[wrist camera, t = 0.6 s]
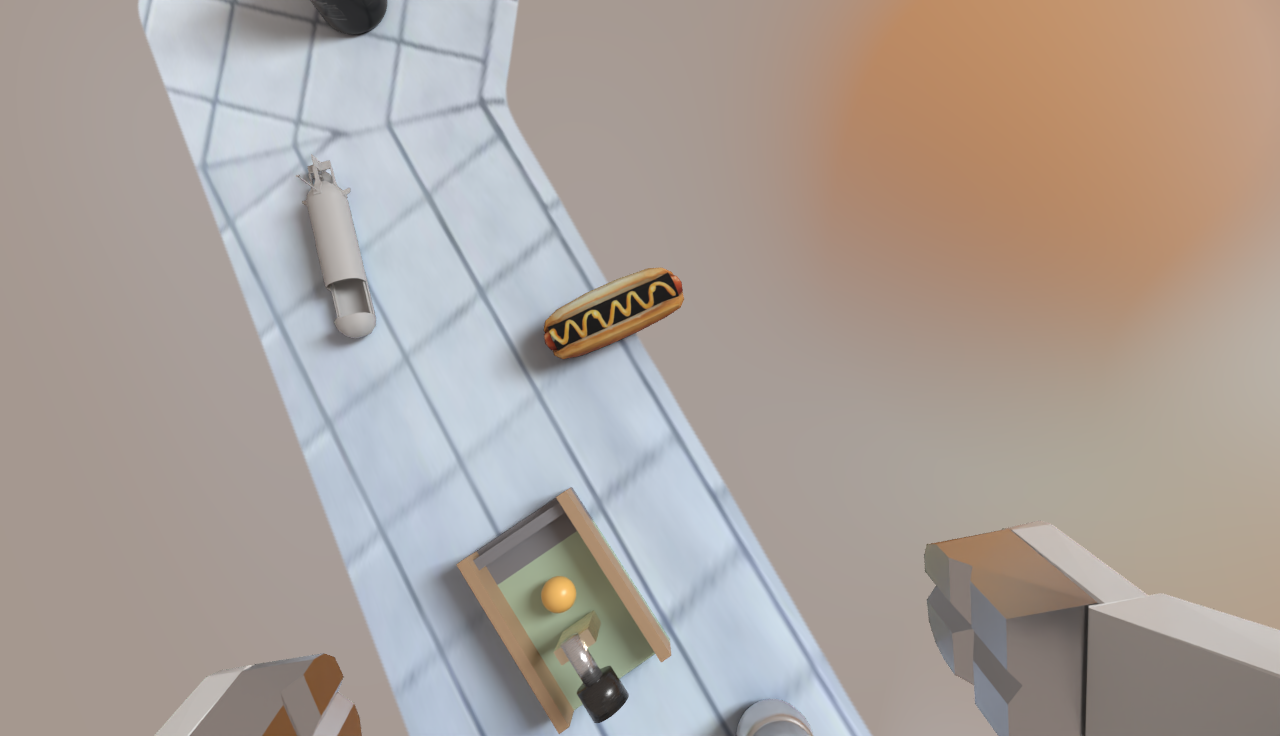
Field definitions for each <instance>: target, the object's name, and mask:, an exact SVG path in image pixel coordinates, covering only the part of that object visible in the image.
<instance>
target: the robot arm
mask: <svg viewBox="0 0 1280 736" xmlns="http://www.w3.org/2000/svg"><path fill="white" fill-rule="evenodd" d="M924 560H925V561H924V562H925V572H926V573H927V574H928V576H929V577H930V578H931V579H932V581H933V582H934V583H935V584H936V586H935V588H934V589H933V591H932V593H931V594H930V596H929V597H928V599H927V606H928V616H929V623H930V626H931V629H932V632H933V636H934V639H935V642H936V644H937V646H938V648H939V650H940V652H941V654H942V656H943V658H944V660H945V661H946V663H947V664H948V666H949V667H950V669H951V670H952V672H953V673H954V674H955V675H956V676H958V677H960V678H962V679H964V680H966V681H967V682H969V683H971V684H973V685H974V691H975V704H976V706H977V707H978V708H979V710H980V711H981V712H982V714H983V715H984V717H985V718H986V719H987V721H988V722H989V723H990V725H991V726H992V728H993V729H994V731H995V732H996V733H997V735H998V736H1280V630H1278V629H1274V628H1271V627H1268V626H1265V625H1262V624H1259V623H1255V622H1252V621H1249V620H1246V619H1243V618H1239V617H1236V616H1233V615H1230V614H1227V613H1223V612H1220V611H1217V610H1214V609H1211V608H1207V607H1204V606H1201V605H1198V604H1195V603H1191V602H1188V601H1185V600H1182V599H1179V598H1176V597H1172V596H1169V595H1166V594H1163V593H1160V594H1155V595H1147V594H1146V593H1144V592H1143V591H1141V590H1140V589H1139V588H1137V587H1136V586H1135V585H1133V584H1132V583H1131V582H1129V581H1128V580H1126V579H1125V578H1124V577H1123V576H1121V575H1120V574H1118V573H1117V572H1116V571H1114V570H1113V569H1112V568H1110V567H1109V566H1107V565H1106V564H1105V563H1104V562H1102V561H1101V560H1100V559H1098V558H1097V557H1095V556H1094V555H1093V554H1091V553H1090V552H1088V551H1087V550H1086V549H1085V548H1083V547H1082V546H1080V545H1079V544H1078V543H1077V542H1075V541H1074V540H1072V539H1071V538H1070V537H1068V536H1067V535H1066V534H1064V533H1063V532H1061V531H1060V530H1059V529H1058V528H1056V527H1055V526H1053V525H1052V524H1050V523H1047V522H1043V521H1036V522H1031V523H1026V524H1022V525H1017V526H1012V527H1008V528H1003V529H1002V530H999V531H994V532H989V533H984V534H979V535H973V536H968V537H963V538H957V539H952V540H947V541H942V542H936V543H931V544H927V545H926V549H925V554H924ZM343 677H344V676H343V674H342V672H341V670H340V667H339V665H338V663H337V661H336V659H335V657H333V656H330V655H327V654H324V653H323V654H317V655H311V656H304V657H299V658H292V659H286V660H279V661H273V662H267V663H260V664H255V665H253V666H243V667H238V668H232V669H226V670H221V671H218V672H216V673H214V674H212V675H210V676H207V677H206V678H205V679H204V680H203V681H202V682H201V683H200V684H199V686H198V687H197V688H196V689H195V690H194V691H193V692H192V693H191V695H190V696H189V697H188V698H187V699H186V700H185V701H184V703H183V704H182V705H181V706H180V707H179V708H178V709H177V710H176V712H175V713H174V714H173V715H172V716H171V717H170V718H169V719H168V721H167V722H166V723H165V724H164V725H163V726H162V727H161V729H160V730H159V731H158V732H157V733H156V734H155V735H154V736H362V733H361V724H360V717H359V714H358V712H357V709H356V706H355V704H354V703H353V702H352V701H350V700H349V699H348V698H346V697H345V696H343V695H342V694H340V693H339V692H338V690H339V687H340V685H341V683H342V680H343Z"/></svg>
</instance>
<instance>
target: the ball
mask: <svg viewBox="0 0 1280 736" xmlns="http://www.w3.org/2000/svg"><path fill="white" fill-rule="evenodd" d="M575 599H576V588H575V586H574V584H573V582H572V581H571V580H570V579H568V578H566V577H564V576H556V577H553V578H551V579H549V580H548V581H547V582H546V583H545V584H544V586H543V588H542V591H541V600H542V603H543V605H544V606H545V608H546V609H547V610H549V611H550V612H553V613H563V612H565V611H567V610H569V609H570V608H571V607H572V605H573V604H574V602H575Z"/></svg>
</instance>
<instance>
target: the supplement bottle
mask: <svg viewBox="0 0 1280 736" xmlns="http://www.w3.org/2000/svg"><path fill="white" fill-rule="evenodd" d="M310 1H311V2H312V3H313V5H314V6H315V7H316V9H317V10H318V11H319V13H320V14H321V15H322V17H323V18H324V19H325V20H326V22H327V23H328V24H329V25H330V26H331V27H333V28H334V29H336V30H337V31H340V32H342V33H346V34H361V33H364V32H367V31H369V30H371V29H373V28H374V27H375V26H377V25H378V24H379V23H380V21H381V20H382V19H383V17H384V15H385V12H386V9H387V0H310Z"/></svg>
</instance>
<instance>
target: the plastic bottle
mask: <svg viewBox="0 0 1280 736" xmlns="http://www.w3.org/2000/svg"><path fill="white" fill-rule="evenodd" d="M736 736H814V735H813V732H812V729H811V727H810V725H809V723H808V721H807V720H806V718H805V717H804V716H803V715H802V714H801V713H800V712H799V711H798V710H797V709H796V708H795V707H793V706H792V705H791V704H789V703H787V702H785V701H783V700H779V699H765V700H761V701H759V702H756V703H755V704H753V705H752V706H750V707H749V708H748V709H747V710H746V711H745V712H744V714H743V715H742V717H741V719H740V721H739V723H738V726H737V731H736Z"/></svg>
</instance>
